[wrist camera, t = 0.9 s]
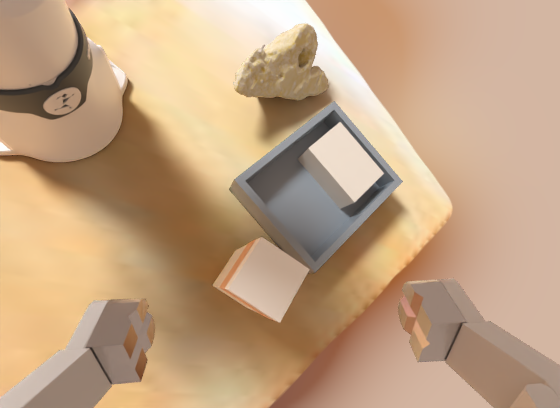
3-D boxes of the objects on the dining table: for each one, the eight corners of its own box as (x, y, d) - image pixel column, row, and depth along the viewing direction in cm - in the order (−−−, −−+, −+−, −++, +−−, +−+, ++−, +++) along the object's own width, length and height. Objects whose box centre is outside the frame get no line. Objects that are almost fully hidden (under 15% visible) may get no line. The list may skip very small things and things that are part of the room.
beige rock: (311, 61, 58) (261, -11, 46) (343, 64, 53) (297, -14, 42) (267, 134, 58) (206, 80, 46) (296, 144, 53) (236, 87, 41)
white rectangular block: (297, 159, 49) (308, 148, 45) (327, 134, 52) (340, 121, 48) (340, 208, 50) (354, 202, 45) (367, 181, 52) (384, 173, 48)
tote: (229, 189, 46) (234, 179, 42) (320, 116, 53) (334, 101, 49) (301, 273, 47) (315, 272, 42) (383, 189, 54) (402, 181, 49)
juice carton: (211, 285, 43) (227, 289, 28) (235, 250, 45) (261, 235, 30) (246, 308, 44) (280, 323, 29) (268, 272, 45) (310, 269, 30)
